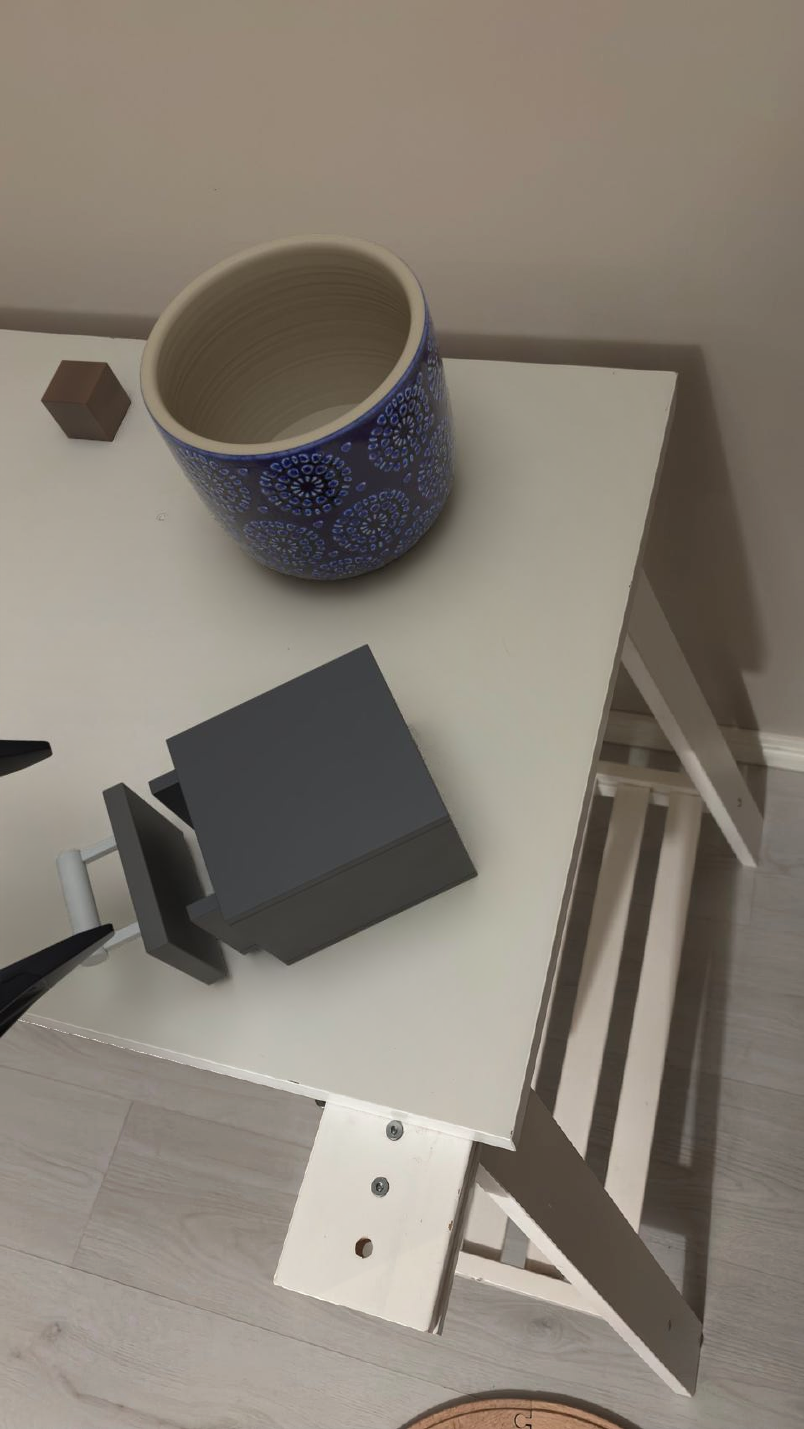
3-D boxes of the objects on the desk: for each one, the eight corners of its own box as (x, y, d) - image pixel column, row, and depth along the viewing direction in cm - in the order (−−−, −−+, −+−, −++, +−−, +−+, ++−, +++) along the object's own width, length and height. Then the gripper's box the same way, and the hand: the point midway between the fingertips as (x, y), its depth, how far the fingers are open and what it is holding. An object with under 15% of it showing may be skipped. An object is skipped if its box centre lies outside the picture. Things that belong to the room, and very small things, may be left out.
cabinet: (287, 966, 53) (223, 922, 45) (231, 805, 58) (164, 739, 50) (478, 875, 53) (448, 814, 45) (405, 722, 58) (367, 643, 50)
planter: (484, 407, 68) (447, 217, 55) (454, 613, 61) (403, 452, 48) (260, 416, 72) (176, 241, 59) (208, 609, 65) (100, 460, 52)
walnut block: (67, 438, 75) (39, 400, 72) (88, 398, 77) (61, 359, 73) (112, 441, 74) (86, 403, 71) (132, 401, 76) (107, 361, 72)
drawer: (143, 1017, 53) (70, 989, 46) (103, 868, 57) (32, 823, 51) (383, 902, 53) (346, 858, 46) (325, 763, 57) (283, 703, 51)
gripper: (-366, 1207, 30) (145, 999, 35) (-454, 679, 35) (-3, 572, 41) (-234, 1202, 39) (150, 1040, 45) (-320, 790, 45) (29, 691, 51)
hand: (81, 835), depth 45 cm, fingers open, 9 cm apart
